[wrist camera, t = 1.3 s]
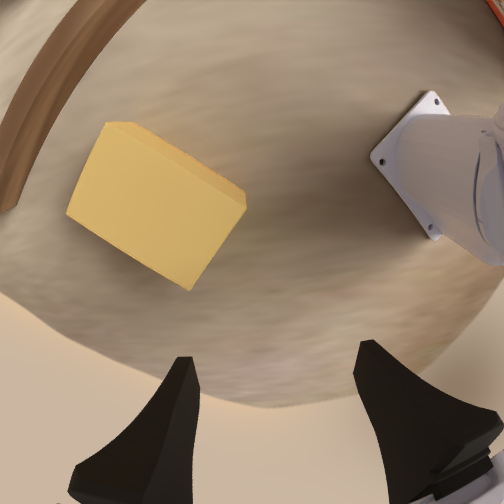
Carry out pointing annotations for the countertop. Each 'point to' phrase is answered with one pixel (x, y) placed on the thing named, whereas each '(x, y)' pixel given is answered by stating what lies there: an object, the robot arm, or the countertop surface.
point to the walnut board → (53, 86)
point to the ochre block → (155, 202)
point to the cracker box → (497, 9)
